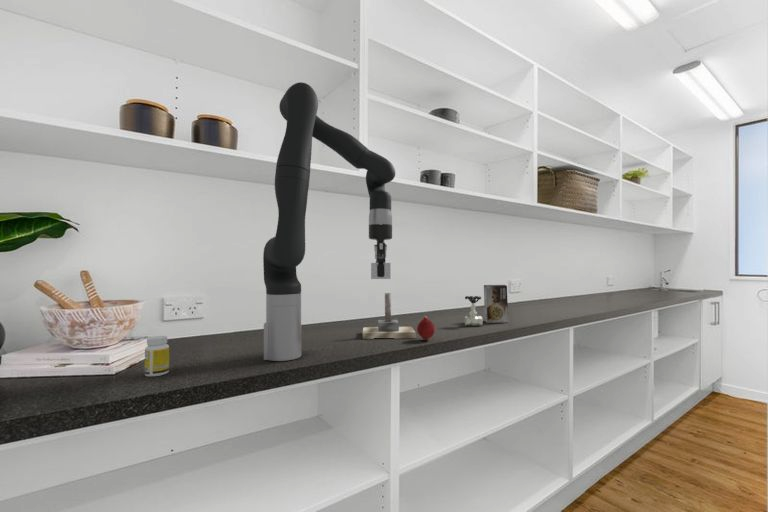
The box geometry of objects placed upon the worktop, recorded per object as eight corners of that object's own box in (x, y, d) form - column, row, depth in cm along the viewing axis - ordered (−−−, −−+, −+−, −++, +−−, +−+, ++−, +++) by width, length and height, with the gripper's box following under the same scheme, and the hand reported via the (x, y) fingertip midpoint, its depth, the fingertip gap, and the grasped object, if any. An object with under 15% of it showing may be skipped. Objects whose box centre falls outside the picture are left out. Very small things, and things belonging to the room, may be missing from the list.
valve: (483, 327, 142) (483, 297, 142) (467, 327, 142) (466, 297, 142) (479, 324, 148) (479, 295, 149) (463, 324, 148) (463, 296, 149)
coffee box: (505, 320, 158) (504, 284, 159) (508, 322, 152) (507, 285, 152) (484, 320, 159) (483, 284, 160) (486, 322, 153) (486, 285, 153)
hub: (371, 278, 110) (371, 262, 110) (371, 278, 116) (371, 263, 116) (390, 278, 110) (390, 262, 110) (389, 278, 116) (389, 263, 116)
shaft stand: (362, 339, 120) (362, 294, 120) (363, 332, 132) (362, 292, 132) (415, 338, 121) (414, 294, 121) (411, 331, 133) (410, 291, 133)
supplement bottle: (173, 370, 84) (173, 335, 85) (161, 376, 80) (161, 339, 80) (152, 371, 84) (153, 335, 85) (139, 377, 79) (140, 339, 80)
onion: (438, 339, 118) (437, 315, 118) (430, 342, 113) (429, 317, 113) (422, 337, 121) (422, 314, 121) (414, 340, 116) (413, 316, 116)
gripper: (368, 227, 121) (368, 276, 120) (368, 221, 106) (368, 277, 106) (390, 227, 121) (390, 276, 120) (393, 221, 107) (393, 277, 106)
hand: (380, 276), depth 113 cm, fingers closed on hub, 6 cm apart
